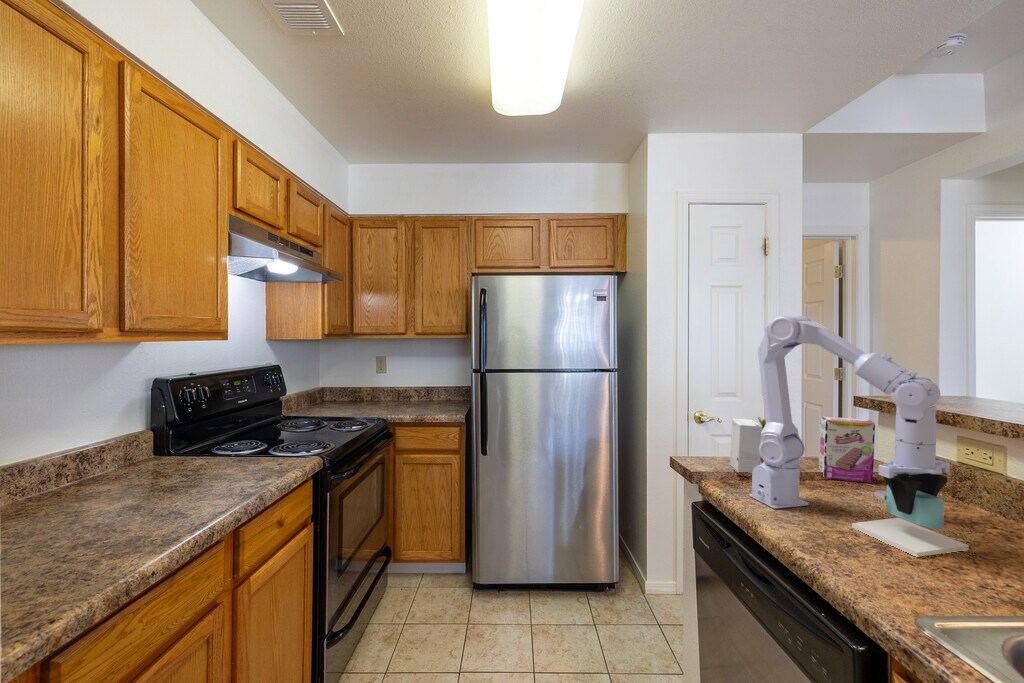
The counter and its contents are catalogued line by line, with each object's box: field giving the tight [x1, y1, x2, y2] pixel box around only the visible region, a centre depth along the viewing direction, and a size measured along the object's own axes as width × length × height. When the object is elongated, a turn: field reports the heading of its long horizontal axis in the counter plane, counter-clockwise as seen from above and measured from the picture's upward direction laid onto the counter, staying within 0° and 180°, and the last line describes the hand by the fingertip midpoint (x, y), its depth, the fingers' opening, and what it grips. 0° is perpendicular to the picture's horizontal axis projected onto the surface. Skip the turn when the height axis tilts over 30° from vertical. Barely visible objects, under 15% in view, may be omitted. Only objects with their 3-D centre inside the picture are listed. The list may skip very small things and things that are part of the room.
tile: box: [851, 517, 970, 558], centre depth 85 cm, size 12×12×1 cm
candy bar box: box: [818, 416, 876, 484], centre depth 118 cm, size 11×5×16 cm, turn 71°
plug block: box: [874, 484, 945, 530], centre depth 84 cm, size 4×11×5 cm, turn 11°
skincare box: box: [729, 417, 762, 473], centre depth 123 cm, size 8×6×15 cm
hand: (913, 511), depth 83 cm, fingers closed on plug block, 4 cm apart
